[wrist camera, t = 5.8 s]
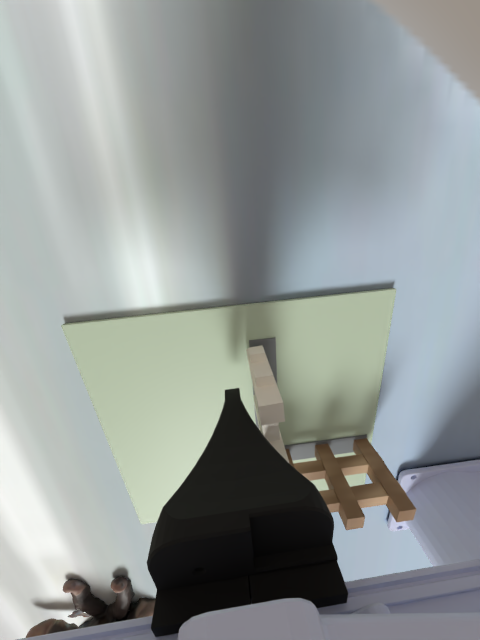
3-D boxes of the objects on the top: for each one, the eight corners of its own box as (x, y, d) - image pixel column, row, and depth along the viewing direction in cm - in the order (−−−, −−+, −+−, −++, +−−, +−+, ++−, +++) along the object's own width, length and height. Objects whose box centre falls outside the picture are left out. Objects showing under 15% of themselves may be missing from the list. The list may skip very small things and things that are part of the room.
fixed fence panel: (365, 429, 18) (422, 508, 13) (362, 446, 18) (416, 527, 13) (255, 444, 17) (270, 530, 12) (257, 461, 18) (271, 549, 13)
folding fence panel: (275, 447, 17) (295, 525, 12) (261, 449, 17) (276, 529, 12) (261, 338, 14) (282, 392, 9) (244, 341, 13) (256, 396, 9)
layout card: (392, 287, 14) (397, 289, 13) (361, 488, 20) (363, 493, 20) (64, 323, 13) (59, 326, 13) (142, 520, 20) (140, 525, 19)
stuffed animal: (161, 585, 22) (132, 768, 19) (171, 521, 31) (153, 636, 28) (21, 588, 20) (-35, 791, 17) (76, 519, 29) (46, 642, 26)
